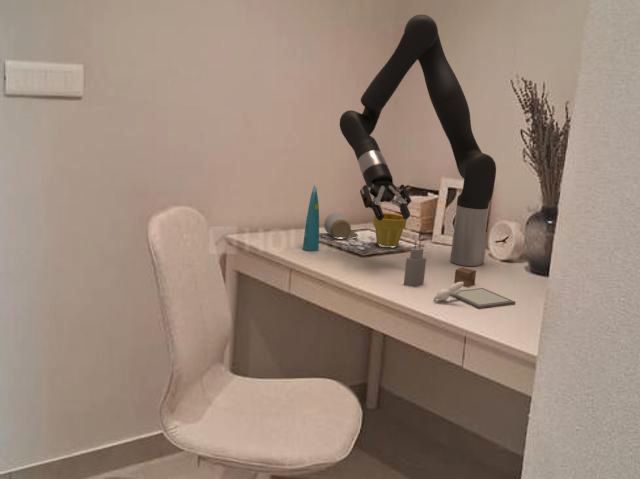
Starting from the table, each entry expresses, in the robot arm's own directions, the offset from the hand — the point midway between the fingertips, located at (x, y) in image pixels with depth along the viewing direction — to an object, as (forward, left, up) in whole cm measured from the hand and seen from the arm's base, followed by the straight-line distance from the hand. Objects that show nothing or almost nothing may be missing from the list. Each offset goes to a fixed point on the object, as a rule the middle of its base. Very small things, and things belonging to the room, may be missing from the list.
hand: (394, 218), depth 194 cm
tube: (+9, -29, -16) cm, 34 cm away
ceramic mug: (-9, -41, -16) cm, 44 cm away
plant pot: (-18, -27, -16) cm, 36 cm away
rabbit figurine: (0, +27, -16) cm, 31 cm away
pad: (-9, +27, -15) cm, 32 cm away
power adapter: (0, +11, -16) cm, 19 cm away
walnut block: (-14, +15, -15) cm, 26 cm away
